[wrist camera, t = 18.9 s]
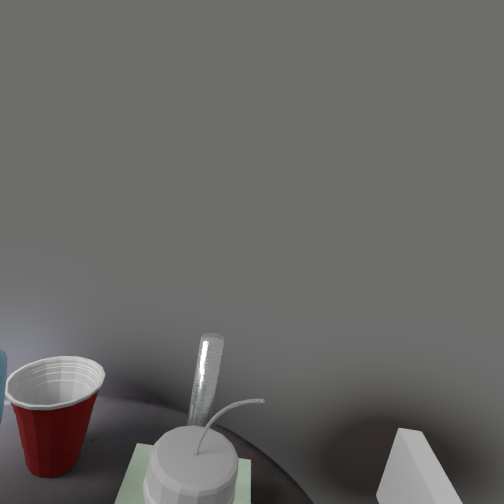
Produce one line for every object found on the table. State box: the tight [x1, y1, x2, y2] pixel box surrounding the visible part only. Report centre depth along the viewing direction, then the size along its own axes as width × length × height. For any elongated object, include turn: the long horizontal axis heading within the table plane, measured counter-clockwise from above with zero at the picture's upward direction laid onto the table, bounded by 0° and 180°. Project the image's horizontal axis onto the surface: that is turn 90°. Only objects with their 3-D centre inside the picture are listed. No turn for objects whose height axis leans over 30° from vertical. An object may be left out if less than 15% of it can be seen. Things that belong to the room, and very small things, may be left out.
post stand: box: [187, 333, 224, 427], centre depth 42 cm, size 12×12×24 cm
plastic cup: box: [5, 356, 105, 478], centre depth 50 cm, size 11×11×12 cm
